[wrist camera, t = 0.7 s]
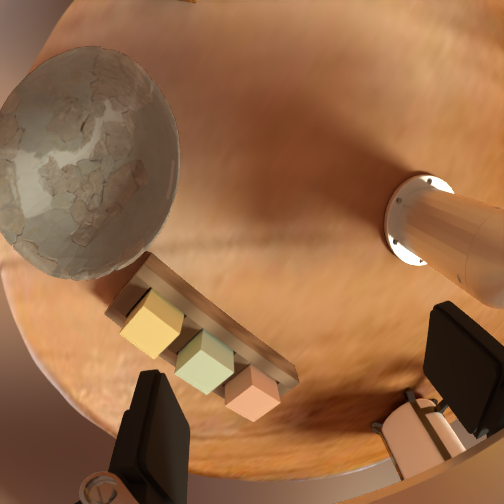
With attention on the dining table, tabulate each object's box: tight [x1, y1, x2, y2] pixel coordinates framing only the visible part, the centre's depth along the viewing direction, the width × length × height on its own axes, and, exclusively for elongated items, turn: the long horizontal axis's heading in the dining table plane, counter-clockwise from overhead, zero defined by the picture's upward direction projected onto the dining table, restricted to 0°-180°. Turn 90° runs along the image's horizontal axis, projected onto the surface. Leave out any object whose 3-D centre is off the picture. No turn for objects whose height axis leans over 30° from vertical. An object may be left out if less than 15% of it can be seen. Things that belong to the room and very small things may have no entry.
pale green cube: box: [174, 328, 234, 395], centre depth 38 cm, size 5×5×5 cm
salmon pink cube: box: [225, 362, 281, 422], centre depth 40 cm, size 5×5×5 cm
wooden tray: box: [104, 253, 299, 399], centre depth 41 cm, size 26×9×4 cm, turn 46°
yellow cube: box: [119, 288, 184, 359], centre depth 36 cm, size 5×5×5 cm
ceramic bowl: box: [0, 46, 180, 281], centre depth 30 cm, size 22×23×10 cm
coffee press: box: [371, 389, 492, 481], centre depth 38 cm, size 17×16×30 cm
